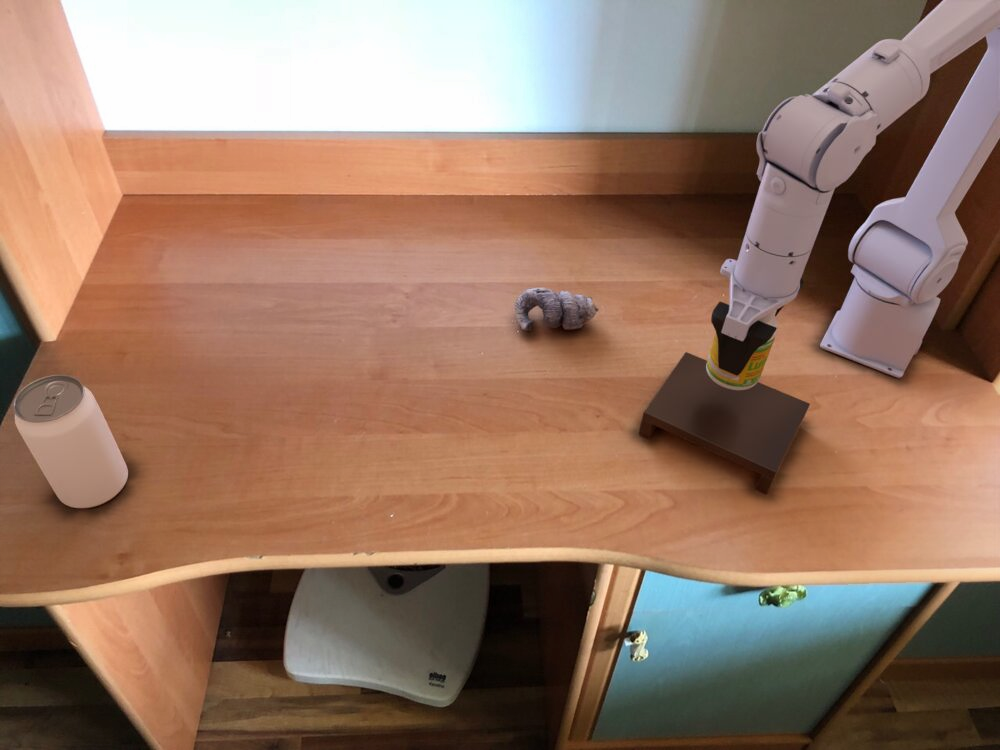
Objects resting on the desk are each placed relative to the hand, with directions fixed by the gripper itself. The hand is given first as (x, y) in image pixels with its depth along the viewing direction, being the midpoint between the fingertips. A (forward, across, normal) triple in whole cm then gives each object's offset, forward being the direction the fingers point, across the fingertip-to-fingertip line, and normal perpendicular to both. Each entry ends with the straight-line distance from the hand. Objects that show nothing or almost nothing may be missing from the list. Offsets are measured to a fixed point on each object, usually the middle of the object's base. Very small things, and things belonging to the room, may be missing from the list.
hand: (740, 352), depth 78 cm
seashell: (+10, -4, -22) cm, 25 cm away
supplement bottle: (+3, 0, 0) cm, 3 cm away
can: (+10, +42, -47) cm, 64 cm away
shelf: (+10, +1, +1) cm, 10 cm away
